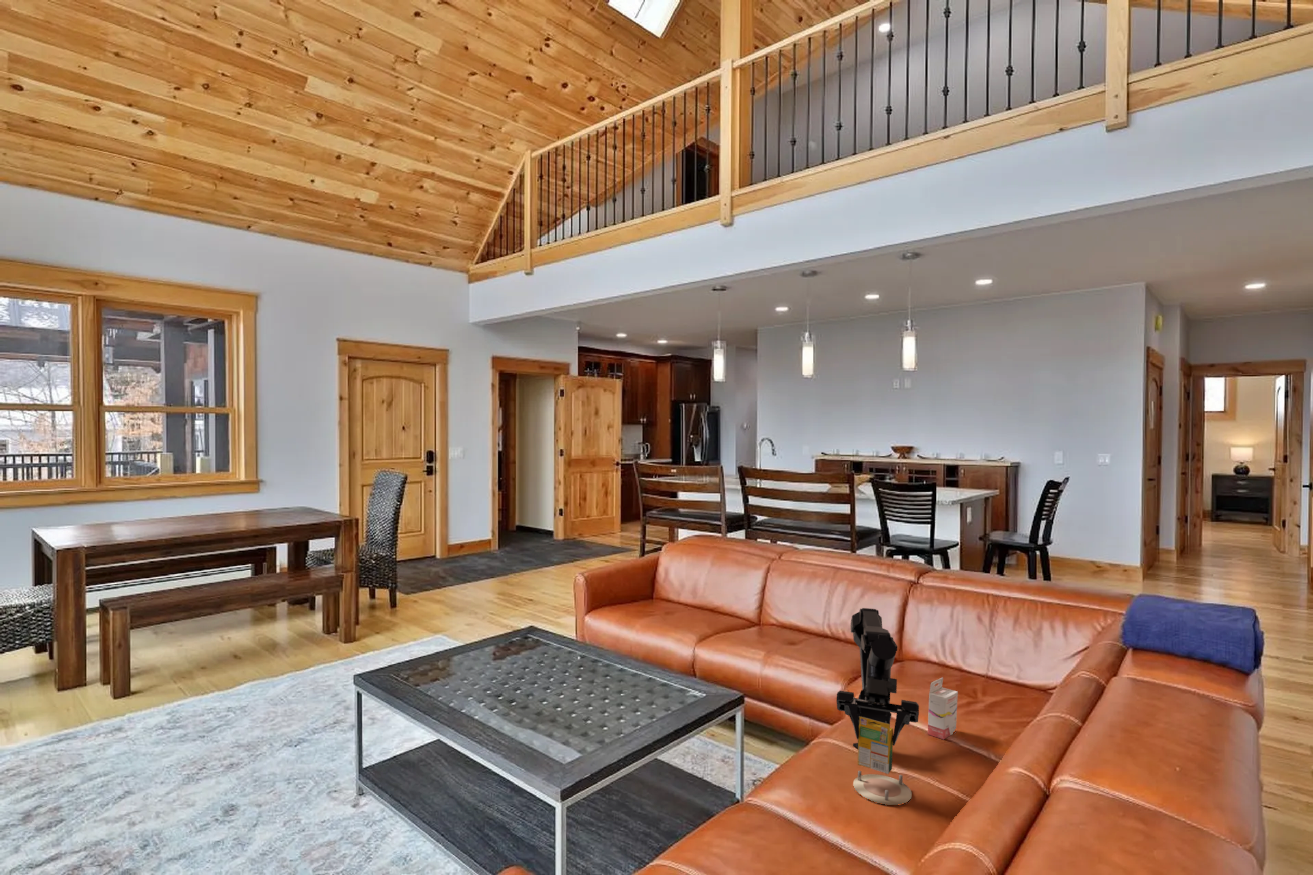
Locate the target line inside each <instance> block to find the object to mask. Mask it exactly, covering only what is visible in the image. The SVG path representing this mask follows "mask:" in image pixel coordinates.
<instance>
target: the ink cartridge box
mask: <svg viewBox="0 0 1313 875" xmlns="http://www.w3.org/2000/svg"><path fill="white" fill-rule="evenodd" d="M943 681H944V677H943V676H942V677H940V678H939V679H936V680H934V681H932V682H931V683H930V686H929V693H928V696H929V697H928V712H927V713H928V714H927V715H928V716H927V735H929V736H931V737H935V738H938V739H941V740H943V741H944V740H945V739H947V738H948V737H950V736H952V735H953V732H954V731H955V729H956V730H957V715H958V696H959V692H958V690H957V691H956V690H953V689H950V688H946V687H943Z"/></svg>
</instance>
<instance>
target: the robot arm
mask: <svg viewBox="0 0 1313 875" xmlns="http://www.w3.org/2000/svg"><path fill="white" fill-rule="evenodd" d="M850 633H851V634H852V638H853V642H854V643H855V644H856V646H858V648H859V657H860V660H859V662H860V674H861V690H860V692H859V695H858V698H857V697H855V693H854V692H852V691H846V690H839V691H837V694H836V709H837V710H838V711H840V712H844V715H846V716H849V719H850V721H851V723H852V726H853V730H854V734H855V737H856V740H857V742H854V743H853V744H852V746H853V747H854V748H856V749H857V750H858V741H859V720H860V717H864V718H868V719H872V720H876V721H879V722H883V723H887V724H890V725H891V720H892V713H894V714H896V716H895V721H894V722H895V723H894V728H893V746H895V745H896V742H897V741H898V738H899V735H900V733H901V731H902V730H903V728H904V726H905V725H910V723H919V714H920V705H919V703H918V702H917V701H912V700H905V699H901V702H900V704H896V703H891V694H897V688H898V687H897V686H898V685H897V684H898V683H897V682H898V679H897V678H893V677H891V671H892V667H893V664H894V661H895V658H896V654H897V652H898V645H897V643H896V642H895V640H894V637H893V636H891V633H890V631H889V630H888V629H885V628H883V619H882V616H881V615H880V613H879V610H878V609H877V608H867V607H862V608H859V611H858V612H856V613H854V614H852V615H851V619H850ZM870 723H874V724H877V723H875V722H870ZM878 725H880V724H878Z"/></svg>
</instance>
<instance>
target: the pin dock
mask: <svg viewBox="0 0 1313 875" xmlns="http://www.w3.org/2000/svg"><path fill="white" fill-rule="evenodd" d="M903 778H904V777H903V774H899V775H898V779H897V778H893V777H892V776H891V777H890V776H888V775H883V774H878V773H877V774H872V773H871V774H870V773H869V774H863V775H862V771H861V770H858V771H857V777H855V779H853V783H852V787H853V786H854V788H855V790H856V791H857V792H858V793H859V794H861V795H862V796H863V797H865V798H867V799H870V800H871V801H874V802H877V803H882V804H885V805H884V806H887V805H898V804H902V803H906V802H908V801H909V800H910V799H911V800H912V794H913V793H912V790H911V788H910V787H909V786H908V785H907V784H906V783H904V782H903V780H904V779H903ZM854 788H853V789H854ZM855 790H854V791H855ZM911 800H910V801H911ZM910 801H909V802H910ZM909 802H908V803H909ZM877 803H876V804H877ZM886 804H887V805H886ZM906 804H907V803H906Z"/></svg>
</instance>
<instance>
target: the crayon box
mask: <svg viewBox="0 0 1313 875" xmlns="http://www.w3.org/2000/svg"><path fill="white" fill-rule="evenodd" d="M870 722H875V723H877V724H874V723H870ZM878 724H880V725H878ZM893 733H894V728H893V727H891V723H890V724H887V723H883V722H879V721H876V720H872V719H868V718H864V717H860V720H859V741H858V740H857V743H858V749H857V765H858V766H860V767H863V768H864V767H865V768H868V769H871V770H874V771H878V772H881V773H884V774H886V775H889V774H890V772H891V771H892V770H893Z"/></svg>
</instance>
